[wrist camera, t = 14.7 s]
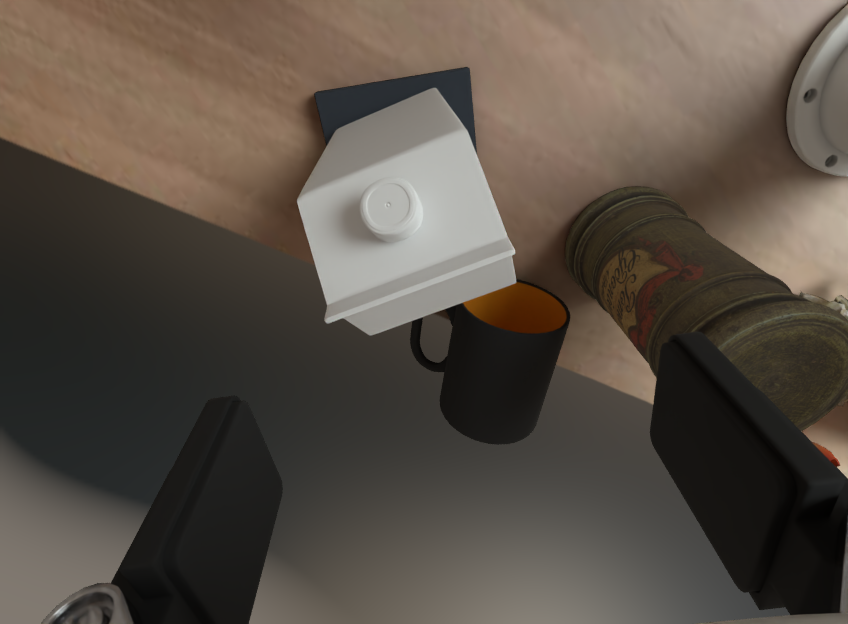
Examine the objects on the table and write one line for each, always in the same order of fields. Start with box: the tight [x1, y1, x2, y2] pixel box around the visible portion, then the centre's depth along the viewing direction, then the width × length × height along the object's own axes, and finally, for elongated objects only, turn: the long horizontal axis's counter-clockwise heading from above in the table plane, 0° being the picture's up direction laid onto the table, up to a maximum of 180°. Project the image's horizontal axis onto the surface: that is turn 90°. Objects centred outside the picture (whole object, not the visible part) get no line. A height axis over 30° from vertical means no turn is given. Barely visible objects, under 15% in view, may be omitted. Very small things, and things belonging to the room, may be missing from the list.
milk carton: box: [297, 88, 516, 335], centre depth 25 cm, size 7×7×19 cm
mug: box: [410, 279, 570, 444], centre depth 39 cm, size 8×12×10 cm
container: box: [565, 187, 848, 431], centre depth 30 cm, size 9×9×18 cm
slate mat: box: [314, 67, 477, 154], centre depth 34 cm, size 10×10×1 cm
